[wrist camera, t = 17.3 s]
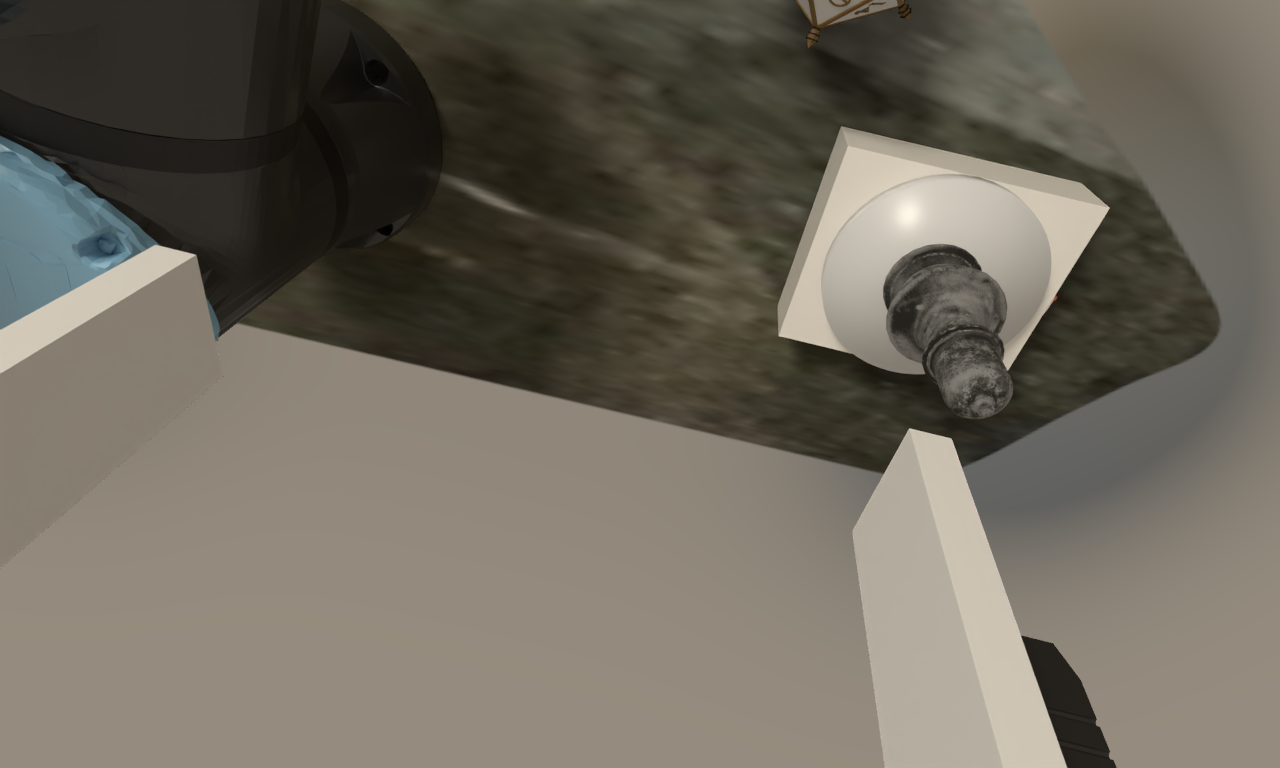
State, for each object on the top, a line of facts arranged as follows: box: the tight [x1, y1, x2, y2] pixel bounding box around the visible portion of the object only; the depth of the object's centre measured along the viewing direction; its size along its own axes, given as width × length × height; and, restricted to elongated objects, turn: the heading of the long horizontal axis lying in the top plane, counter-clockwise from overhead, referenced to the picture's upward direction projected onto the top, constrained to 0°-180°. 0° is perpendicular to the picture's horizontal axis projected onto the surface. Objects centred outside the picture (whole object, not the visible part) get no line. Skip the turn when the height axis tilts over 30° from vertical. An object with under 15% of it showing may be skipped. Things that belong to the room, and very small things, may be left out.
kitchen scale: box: [778, 126, 1110, 374], centre depth 40 cm, size 14×12×5 cm
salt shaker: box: [883, 244, 1013, 419], centre depth 33 cm, size 6×6×12 cm
